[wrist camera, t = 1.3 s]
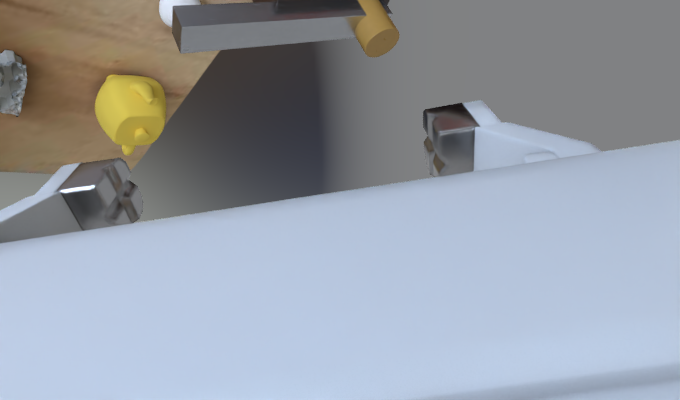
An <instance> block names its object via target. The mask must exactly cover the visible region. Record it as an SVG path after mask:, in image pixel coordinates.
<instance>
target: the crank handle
mask: <svg viewBox="0 0 680 400" xmlns="http://www.w3.org/2000/svg"><path fill="white" fill-rule="evenodd" d="M391 15H392V13H391V11H390V9H389V8H388V6H387V4H386V3H385V1H384V0H302V1H277V2H253V3H229V4H204V5H180V6H173V13H172V34H173V36H174V39H175V41H176V44H177V46H178V48H179V51H180V53H192V52H203V51H214V50H225V49H235V48H247V47H258V46H269V45H280V44H291V43H302V42H312V41H324V40H335V39H346V38H357V40H358V41H359V43H360V45H361V47H362V48H363V50H364V52H365V53H366V55H367V56H369V57H378V56H381V55H383V54H385V53H387V52H388V51H390V50H391V49H392V48H393V47H394V46H395V45H396V43H397V41H398V39H399V32H398V30H397V29H396V27H395V25H394V24H393V22H392V21H391V19H390V17H391Z"/></svg>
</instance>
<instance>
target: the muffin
mask: <svg viewBox="0 0 680 400" xmlns="http://www.w3.org/2000/svg"><path fill="white" fill-rule="evenodd" d="M180 5H201V4H200V1H199V0H160V3H159V14H160V17H161V19H162V20H163V22H164V23H165V24H167V25H168V26H170V27H172V13H173V6H180Z"/></svg>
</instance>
